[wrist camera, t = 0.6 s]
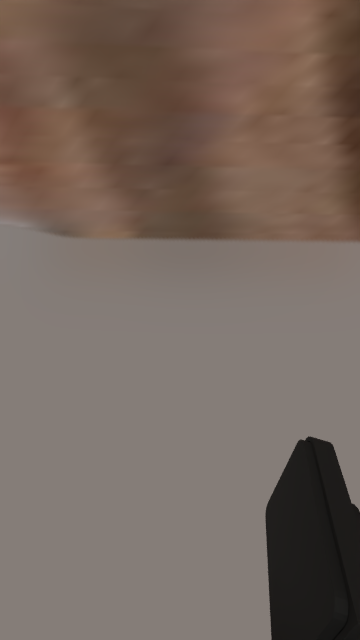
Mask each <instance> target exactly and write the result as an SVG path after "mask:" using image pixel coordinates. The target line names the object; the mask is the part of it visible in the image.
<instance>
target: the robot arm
mask: <svg viewBox="0 0 360 640" xmlns="http://www.w3.org/2000/svg"><path fill="white" fill-rule="evenodd" d="M266 535H267V556H268V575H269V596H270V616H271V635H272V640H360V512H359V509H358V508H357V507H356V506H355V505H354V504H352V503H351V500H350V497H349V494H348V491H347V488H346V484H345V481H344V478H343V475H342V472H341V469H340V466H339V463H338V460H337V456H336V453H335V450H334V447H333V445H332V444H331V443H330V442H327V441H323V440H320V439H317V438H313V437H308V438H306V440H305V441H304V440H299V441H298V443H297V445H296V447H295V449H294V451H293V453H292V455H291V457H290V459H289V461H288V463H287V465H286V467H285V469H284V471H283V473H282V475H281V477H280V480H279V481H278V483H277V485H276V487H275V489H274V492H273V494H272V496H271V498H270V500H269V502H268V504H267V508H266Z"/></svg>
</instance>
